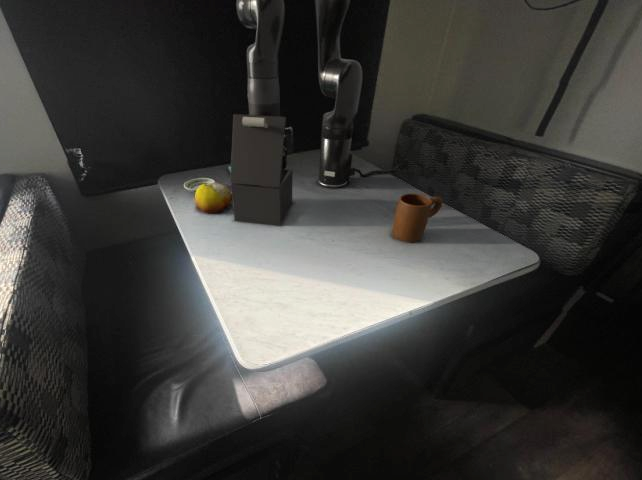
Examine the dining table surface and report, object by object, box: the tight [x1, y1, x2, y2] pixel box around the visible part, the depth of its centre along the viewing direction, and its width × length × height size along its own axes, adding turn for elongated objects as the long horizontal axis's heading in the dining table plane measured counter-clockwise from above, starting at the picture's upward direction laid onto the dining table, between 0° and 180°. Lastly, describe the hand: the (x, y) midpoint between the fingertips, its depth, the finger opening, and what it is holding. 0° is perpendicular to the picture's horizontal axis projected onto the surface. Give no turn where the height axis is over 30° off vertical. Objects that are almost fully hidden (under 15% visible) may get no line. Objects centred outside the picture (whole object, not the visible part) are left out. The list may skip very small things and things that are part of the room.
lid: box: [229, 113, 287, 188], centre depth 77 cm, size 15×13×5 cm
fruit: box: [194, 182, 233, 215], centre depth 94 cm, size 11×10×8 cm
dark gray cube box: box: [230, 168, 293, 227], centre depth 90 cm, size 15×13×10 cm
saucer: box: [183, 177, 216, 194], centre depth 104 cm, size 10×10×2 cm
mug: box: [391, 193, 443, 243], centre depth 81 cm, size 12×8×9 cm, turn 112°
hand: (266, 168), depth 89 cm, fingers open, 8 cm apart
